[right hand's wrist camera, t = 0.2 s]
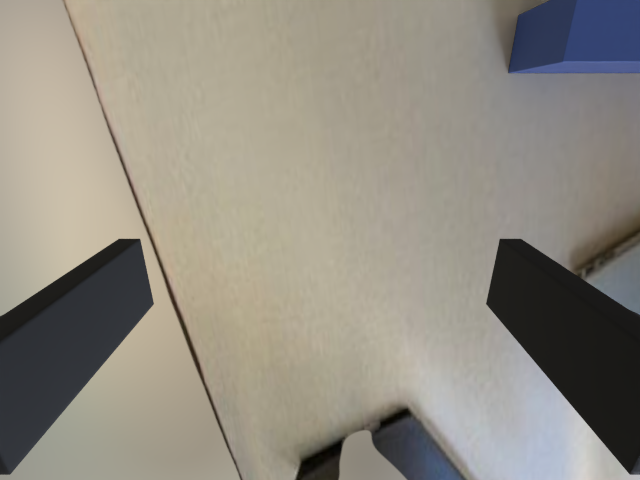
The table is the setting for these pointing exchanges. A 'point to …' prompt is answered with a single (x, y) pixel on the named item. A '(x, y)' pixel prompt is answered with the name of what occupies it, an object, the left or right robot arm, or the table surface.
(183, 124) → the table surface
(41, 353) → the right robot arm
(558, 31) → the bar
